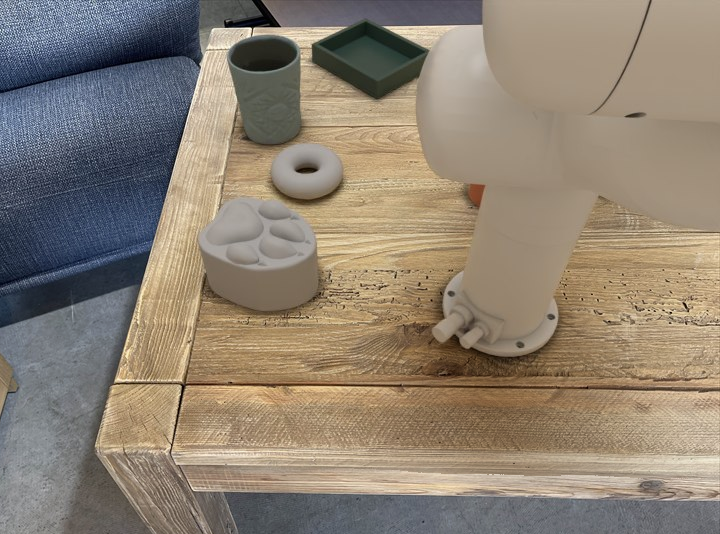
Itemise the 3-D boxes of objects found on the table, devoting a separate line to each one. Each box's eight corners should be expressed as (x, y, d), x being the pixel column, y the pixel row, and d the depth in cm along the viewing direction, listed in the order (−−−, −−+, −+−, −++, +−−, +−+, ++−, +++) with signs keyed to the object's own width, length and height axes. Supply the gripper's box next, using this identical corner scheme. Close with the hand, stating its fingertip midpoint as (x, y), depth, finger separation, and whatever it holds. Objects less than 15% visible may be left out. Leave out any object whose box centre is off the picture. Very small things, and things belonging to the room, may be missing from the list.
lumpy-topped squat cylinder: (242, 232, 77) (232, 179, 70) (334, 263, 73) (333, 210, 67) (198, 289, 71) (183, 238, 64) (296, 325, 68) (291, 275, 61)
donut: (356, 171, 84) (296, 149, 87) (357, 152, 81) (295, 129, 85) (319, 215, 79) (256, 189, 82) (319, 195, 76) (254, 169, 79)
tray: (430, 69, 100) (433, 51, 97) (376, 99, 95) (377, 81, 92) (365, 35, 107) (365, 18, 105) (312, 61, 102) (311, 43, 100)
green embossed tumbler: (287, 154, 87) (280, 78, 77) (225, 138, 89) (212, 63, 80) (315, 115, 92) (312, 41, 83) (257, 102, 95) (247, 28, 86)
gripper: (529, 0, 52) (490, 158, 66) (637, -61, 59) (581, 94, 72) (461, -28, 56) (438, 127, 69) (571, -82, 62) (530, 69, 76)
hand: (511, 110), depth 71 cm, fingers open, 9 cm apart
